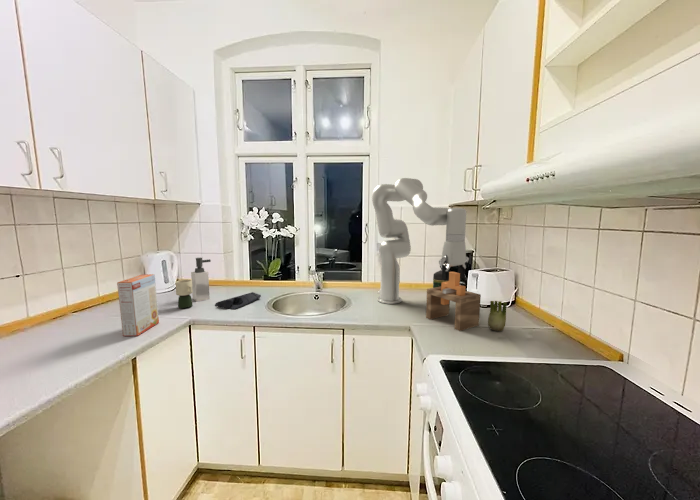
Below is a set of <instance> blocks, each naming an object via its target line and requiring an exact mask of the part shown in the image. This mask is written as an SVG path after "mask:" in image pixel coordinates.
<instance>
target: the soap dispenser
mask: <svg viewBox="0 0 700 500" xmlns="http://www.w3.org/2000/svg"><path fill="white" fill-rule="evenodd" d="M211 261H212V260H211V259H203V257H195V263H196V264H195V265H196V266H195V267H196V268H195V269H194V271H190V276H191V278H190V280H192V290H193V292H192V293H191V294H192V295H191V297H192V301H195V302H202V301H208V299H209V300H211V299H210V298H211V297H210V284H209V283H210V282H209V278H210V276H209V272H208V271H206V270H205V268H204V267H203V263H211Z"/></svg>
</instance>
